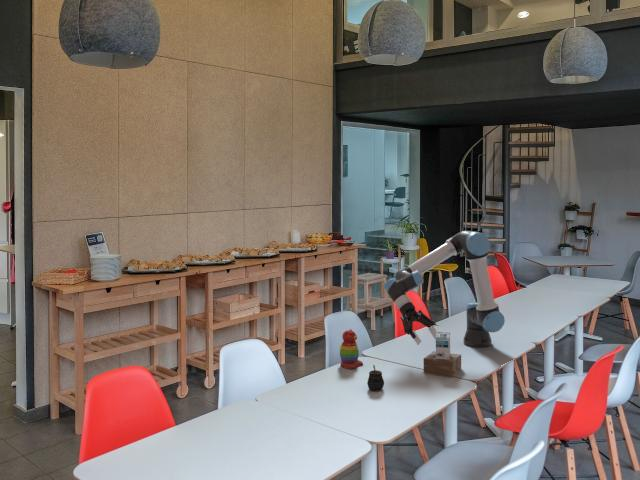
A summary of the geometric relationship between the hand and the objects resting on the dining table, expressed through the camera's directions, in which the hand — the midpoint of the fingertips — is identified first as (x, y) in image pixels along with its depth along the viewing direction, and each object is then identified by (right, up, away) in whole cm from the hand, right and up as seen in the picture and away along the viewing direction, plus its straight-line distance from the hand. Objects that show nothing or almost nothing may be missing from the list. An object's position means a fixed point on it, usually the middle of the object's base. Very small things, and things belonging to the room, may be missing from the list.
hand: (428, 340), depth 296 cm
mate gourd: (-29, -17, -28) cm, 44 cm away
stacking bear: (-38, -14, +7) cm, 41 cm away
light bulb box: (+6, -7, -5) cm, 11 cm away
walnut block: (+6, -14, -5) cm, 16 cm away
